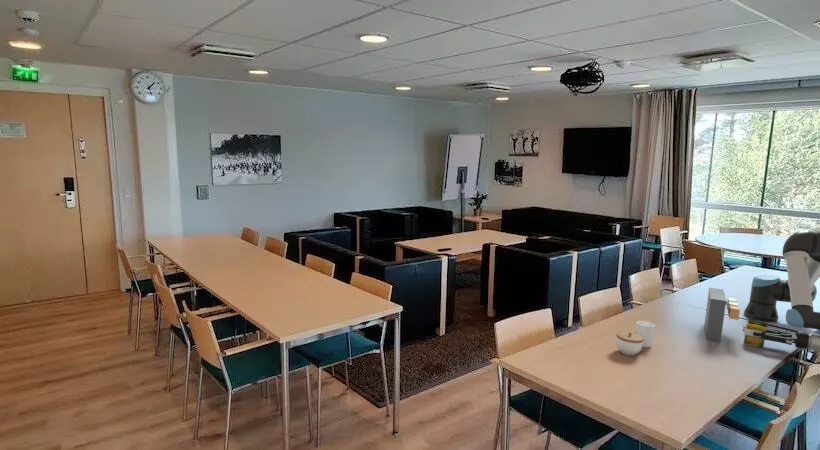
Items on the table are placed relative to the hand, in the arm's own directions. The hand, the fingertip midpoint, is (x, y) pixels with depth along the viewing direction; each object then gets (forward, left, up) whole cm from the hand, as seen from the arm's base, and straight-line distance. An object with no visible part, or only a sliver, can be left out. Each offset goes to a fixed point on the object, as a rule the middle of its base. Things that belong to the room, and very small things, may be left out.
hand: (743, 329), depth 221 cm
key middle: (-7, -5, +5) cm, 10 cm away
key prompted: (0, -5, +5) cm, 7 cm away
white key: (-15, -5, +5) cm, 16 cm away
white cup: (+29, -40, -7) cm, 50 cm away
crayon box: (0, +4, -7) cm, 8 cm away
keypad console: (-7, -12, -6) cm, 15 cm away
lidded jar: (+43, -45, -7) cm, 62 cm away
